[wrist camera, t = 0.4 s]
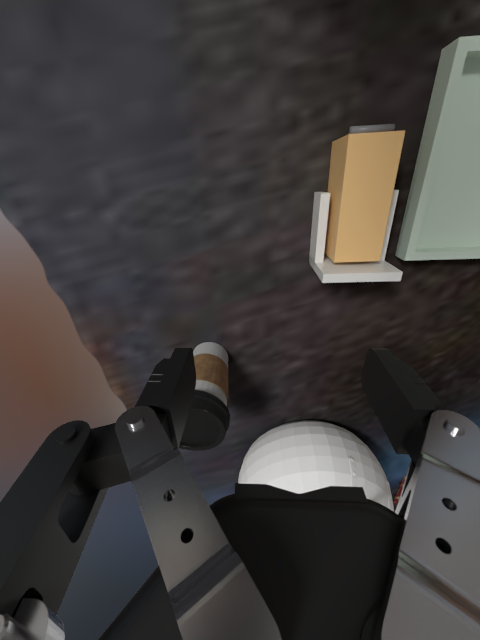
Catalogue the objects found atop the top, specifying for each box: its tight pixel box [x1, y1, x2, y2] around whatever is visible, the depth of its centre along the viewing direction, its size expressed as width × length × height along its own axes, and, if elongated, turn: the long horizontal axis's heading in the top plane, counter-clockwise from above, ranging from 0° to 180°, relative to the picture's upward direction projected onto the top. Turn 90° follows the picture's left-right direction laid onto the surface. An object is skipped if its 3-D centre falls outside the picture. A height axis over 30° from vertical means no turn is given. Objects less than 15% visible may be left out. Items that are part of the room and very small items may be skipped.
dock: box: [309, 190, 403, 283], centre depth 30 cm, size 9×8×8 cm
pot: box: [238, 420, 394, 512], centre depth 47 cm, size 29×26×17 cm
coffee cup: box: [179, 342, 230, 450], centre depth 37 cm, size 8×8×15 cm
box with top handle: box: [324, 124, 405, 263], centre depth 30 cm, size 13×5×6 cm, turn 3°
